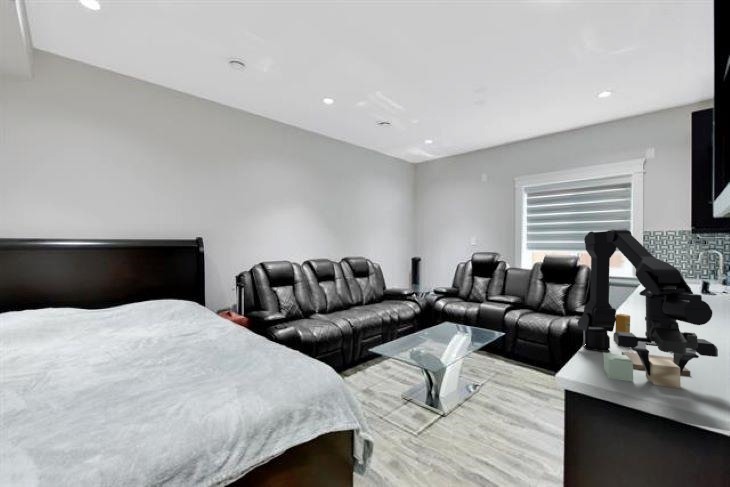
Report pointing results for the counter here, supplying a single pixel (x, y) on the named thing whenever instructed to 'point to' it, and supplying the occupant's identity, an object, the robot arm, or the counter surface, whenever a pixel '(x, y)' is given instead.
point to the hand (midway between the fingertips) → (662, 376)
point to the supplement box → (622, 323)
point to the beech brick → (664, 373)
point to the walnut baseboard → (637, 361)
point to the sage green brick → (618, 366)
